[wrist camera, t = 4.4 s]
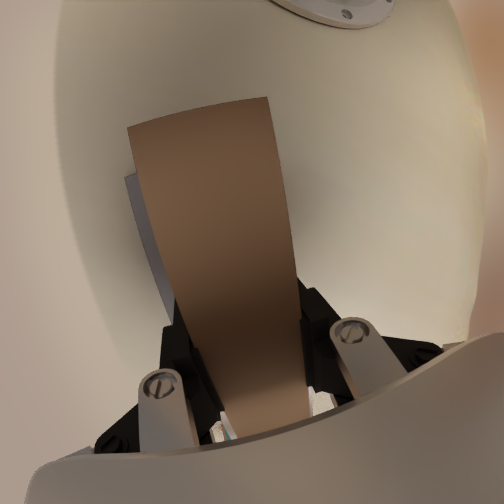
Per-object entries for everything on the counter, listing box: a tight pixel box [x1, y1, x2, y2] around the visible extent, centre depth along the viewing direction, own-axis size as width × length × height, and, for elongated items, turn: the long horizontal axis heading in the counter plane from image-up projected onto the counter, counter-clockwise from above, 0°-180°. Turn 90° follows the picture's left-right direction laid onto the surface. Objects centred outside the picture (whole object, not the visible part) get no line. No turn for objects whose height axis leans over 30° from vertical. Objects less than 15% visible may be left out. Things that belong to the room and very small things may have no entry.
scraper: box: [127, 97, 313, 440], centre depth 10 cm, size 18×5×4 cm, turn 12°
